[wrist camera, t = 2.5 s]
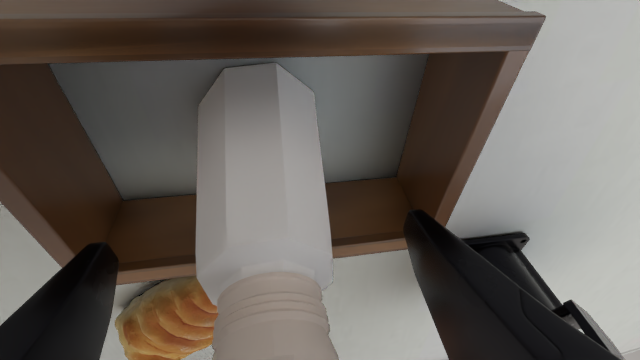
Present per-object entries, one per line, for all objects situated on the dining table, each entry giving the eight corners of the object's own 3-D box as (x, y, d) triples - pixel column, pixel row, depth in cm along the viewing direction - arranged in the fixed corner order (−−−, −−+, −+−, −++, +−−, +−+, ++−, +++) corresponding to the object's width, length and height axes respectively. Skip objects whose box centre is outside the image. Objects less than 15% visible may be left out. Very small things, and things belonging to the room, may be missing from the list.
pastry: (190, 246, 20) (181, 304, 17) (269, 278, 24) (272, 329, 21) (113, 309, 23) (95, 366, 20) (194, 327, 27) (188, 377, 24)
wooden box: (466, -18, 12) (547, 15, 9) (404, 186, 19) (436, 246, 16) (-28, -23, 10) (-173, 20, 6) (114, 213, 17) (81, 290, 14)
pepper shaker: (335, 78, 14) (457, 333, 6) (299, 170, 17) (344, 416, 9) (206, 41, 12) (116, 344, 4) (193, 152, 15) (128, 444, 7)
